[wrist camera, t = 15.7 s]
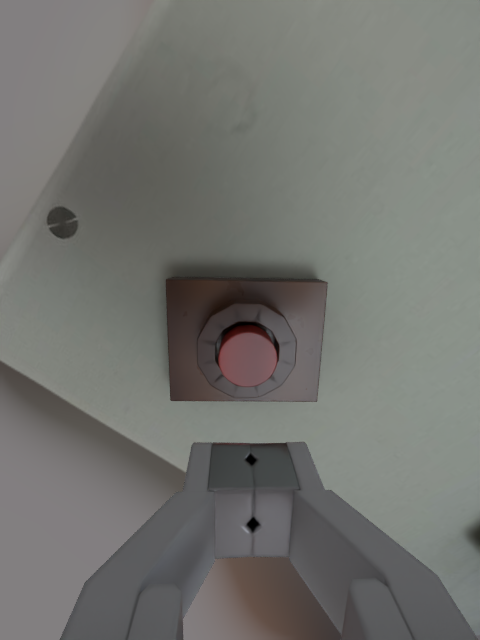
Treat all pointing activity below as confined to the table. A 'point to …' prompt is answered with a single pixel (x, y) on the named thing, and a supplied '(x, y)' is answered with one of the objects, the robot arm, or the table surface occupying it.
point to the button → (247, 356)
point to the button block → (235, 310)
